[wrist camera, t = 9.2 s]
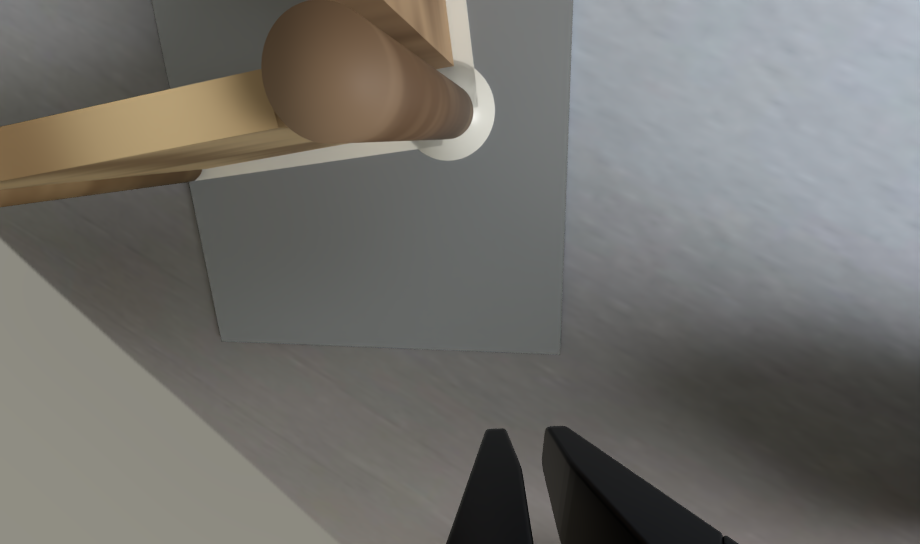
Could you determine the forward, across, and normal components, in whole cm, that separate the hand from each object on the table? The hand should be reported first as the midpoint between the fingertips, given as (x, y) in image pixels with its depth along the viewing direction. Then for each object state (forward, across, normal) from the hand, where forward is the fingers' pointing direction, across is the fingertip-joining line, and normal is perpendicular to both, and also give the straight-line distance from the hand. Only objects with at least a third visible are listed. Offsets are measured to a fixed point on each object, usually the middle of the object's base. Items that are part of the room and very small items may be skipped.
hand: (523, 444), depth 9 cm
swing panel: (+12, -8, +4) cm, 15 cm away
